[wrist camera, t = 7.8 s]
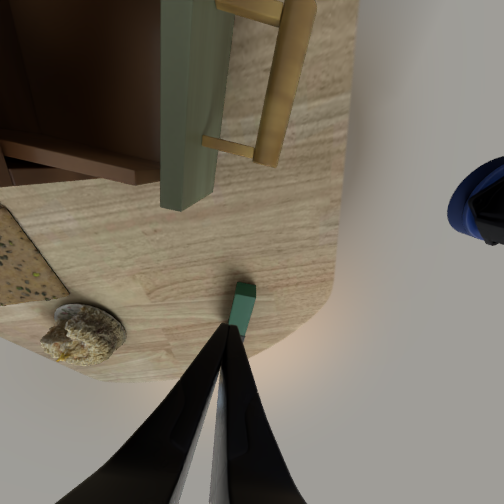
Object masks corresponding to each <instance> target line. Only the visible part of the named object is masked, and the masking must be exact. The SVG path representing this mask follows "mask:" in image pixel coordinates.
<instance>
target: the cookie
mask: <svg viewBox="0 0 504 504" xmlns="http://www.w3.org/2000/svg"><path fill="white" fill-rule="evenodd" d="M68 295H69V293H68V292H67V290H66V289H65V287H64V286H63V284H62V283H61V282H60V280H59V279H58V278H57V276H56V275H55V274H54V272H53V271H52V270H51V268H50V267H49V266H48V264H47V263H46V261H45V260H44V259H43V257H42V256H41V255H40V254H39V251H38V250H37V249H36V248H35V247H34V245H33V244H32V242H31V241H30V240H29V239H28V238H27V236H26V235H25V233H24V232H23V231H22V229H21V228H20V226H19V225H18V224H17V222H16V221H15V220H14V219H13V217H12V216H11V214H10V213H9V212H8V211H7V209H6V208H4V207H3V208H0V306H6V305H10V304H18V303H24V302H29V301H42V300H46V301H49V300H51V299H58V298H60V297H66V296H68Z"/></svg>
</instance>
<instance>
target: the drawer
mask: <svg viewBox="0 0 504 504" xmlns="http://www.w3.org/2000/svg"><path fill="white" fill-rule="evenodd" d="M316 12H317V5H316V2H315V0H285V1H284V6H283V2H280V1H276V0H0V146H1V149H2V152H3V155H4V156H8V157H13V158H17V159H21V160H26V161H30V162H34V163H39V164H43V165H47V166H52V167H56V168H60V169H65V170H69V171H74V172H78V173H82V174H87V175H91V176H95V177H100V178H104V179H108V180H113V181H117V182H121V183H126V184H130V185H135V186H136V185H142V184H147V183H153V182H158V181H160V207H162V208H166V209H171V210H175V211H180V212H182V211H183V210H185V209H186V208H188V207H190V206H191V205H193V204H195V203H196V202H198V201H199V200H201V199H203V198H204V197H206V196H207V195H209V194H211V193H212V192H213V188H214V180H215V172H216V163H217V155H218V150H220V151H224V152H228V153H232V154H236V155H240V156H244V157H248V158H253V160H252V161H253V162H254V163H257V164H261V165H265V166H270V167H274V168H276V167H277V164H278V160H279V156H280V153H281V149H282V145H283V141H284V137H285V133H286V129H287V125H288V121H289V117H290V114H291V110H292V106H293V102H294V98H295V94H296V90H297V86H298V82H299V78H300V75H301V71H302V67H303V63H304V59H305V55H306V51H307V47H308V43H309V39H310V36H311V32H312V28H313V24H314V20H315V16H316ZM235 15H239V16H242V17H245V18H249V19H252V20H255V21H259V22H262V23H265V24H269V25H272V26H275V27H279V31H278V36H277V41H276V46H275V51H274V56H273V61H272V66H271V71H270V76H269V80H268V85H267V90H266V95H265V100H264V105H263V110H262V115H261V120H260V125H259V130H258V135H257V140H256V145H255V148H254V147H250V146H246V145H242V144H238V143H234V142H230V141H226V140H222V139H220V131H221V123H222V115H223V107H224V99H225V91H226V82H227V74H228V66H229V58H230V50H231V42H232V34H233V26H234V18H235Z"/></svg>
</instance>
